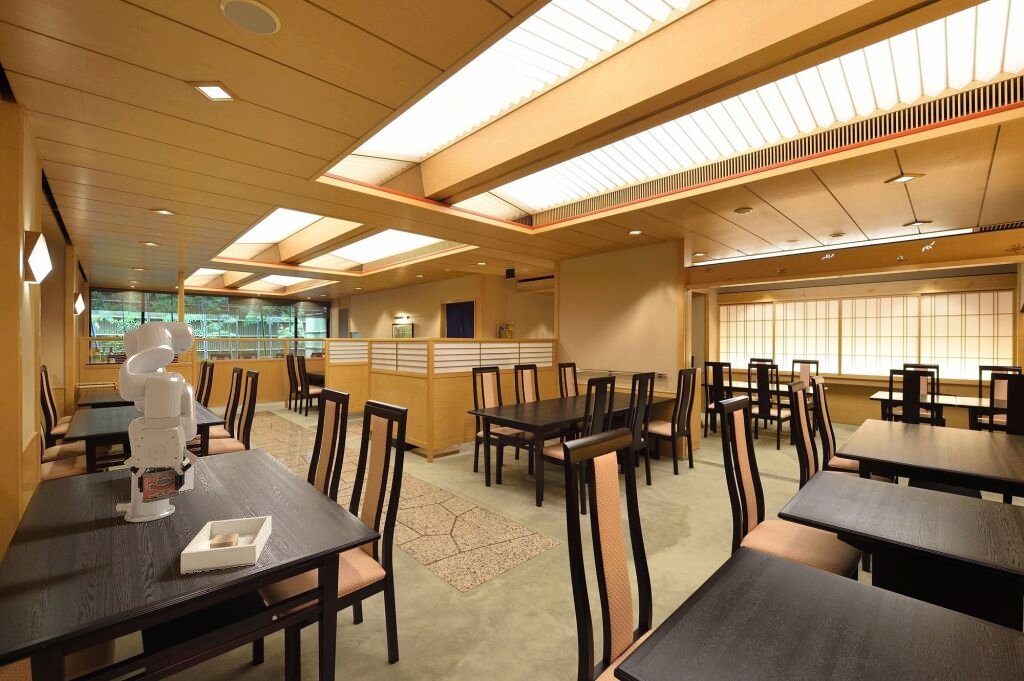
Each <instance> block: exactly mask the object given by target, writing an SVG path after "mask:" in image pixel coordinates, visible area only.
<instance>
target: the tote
mask: <svg viewBox="0 0 1024 681" xmlns="http://www.w3.org/2000/svg"><path fill="white" fill-rule="evenodd" d="M272 517H273V516H272V515H266V516H256V517H255V516H254V517H245V518H244V517H243V518H236V519H235V518H234V519H223V520H221V519H220V520H212V521H210V520H209V521H207V522H206V524H205V525H204V526H203V527H202V528H201V529H200V531H199V532H198V533H197V534H196V535H195V537H194V538H193V539H192V540H191V541H190V542H189V543H188V545H187V546H186V547H185V548H184V550H182V552H181V553H180V575H186V573H189V574H196V573H195V572H197V573H203V572H202V571H205V572H210V571H209V570H214V569H219V568H227V567H233V566H241V565H249V564H256V562H257V560H258V558H259V556H260V554H261V555H262V553H263V551H264V549H265V547H266V545H267V543H268V541H269V539H270V537H271V535H272V527H273V525H272V523H273V522H272V521H273V520H272V519H273V518H272ZM237 533H238V546H231V547H222V548H213V549H210V543H211V542H212V541H213V539H214V538H215V537H216V536H217V535H227V534H237ZM270 534H271V535H270ZM269 536H270V537H269ZM268 538H269V539H268ZM267 540H268V541H267ZM266 542H267V543H266ZM265 544H266V545H265ZM264 546H265V547H264ZM263 548H264V549H263ZM262 550H263V551H262ZM261 552H262V553H261ZM260 557H261V556H260ZM259 559H260V558H259ZM258 561H259V560H258ZM257 563H258V562H257ZM256 565H257V564H256ZM214 571H215V570H214ZM193 572H194V573H193Z"/></svg>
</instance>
